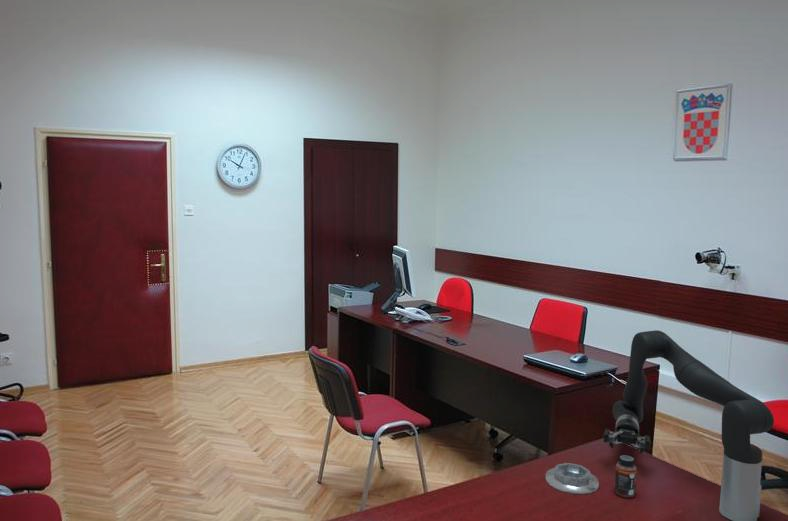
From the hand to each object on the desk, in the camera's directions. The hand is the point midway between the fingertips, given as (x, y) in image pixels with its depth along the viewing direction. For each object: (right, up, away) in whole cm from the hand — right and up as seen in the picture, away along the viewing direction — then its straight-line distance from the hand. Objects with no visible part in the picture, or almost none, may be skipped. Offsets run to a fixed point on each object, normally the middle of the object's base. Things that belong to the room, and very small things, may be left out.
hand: (626, 447), depth 185 cm
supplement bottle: (-4, -11, -10) cm, 15 cm away
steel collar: (-18, -10, -2) cm, 21 cm away
